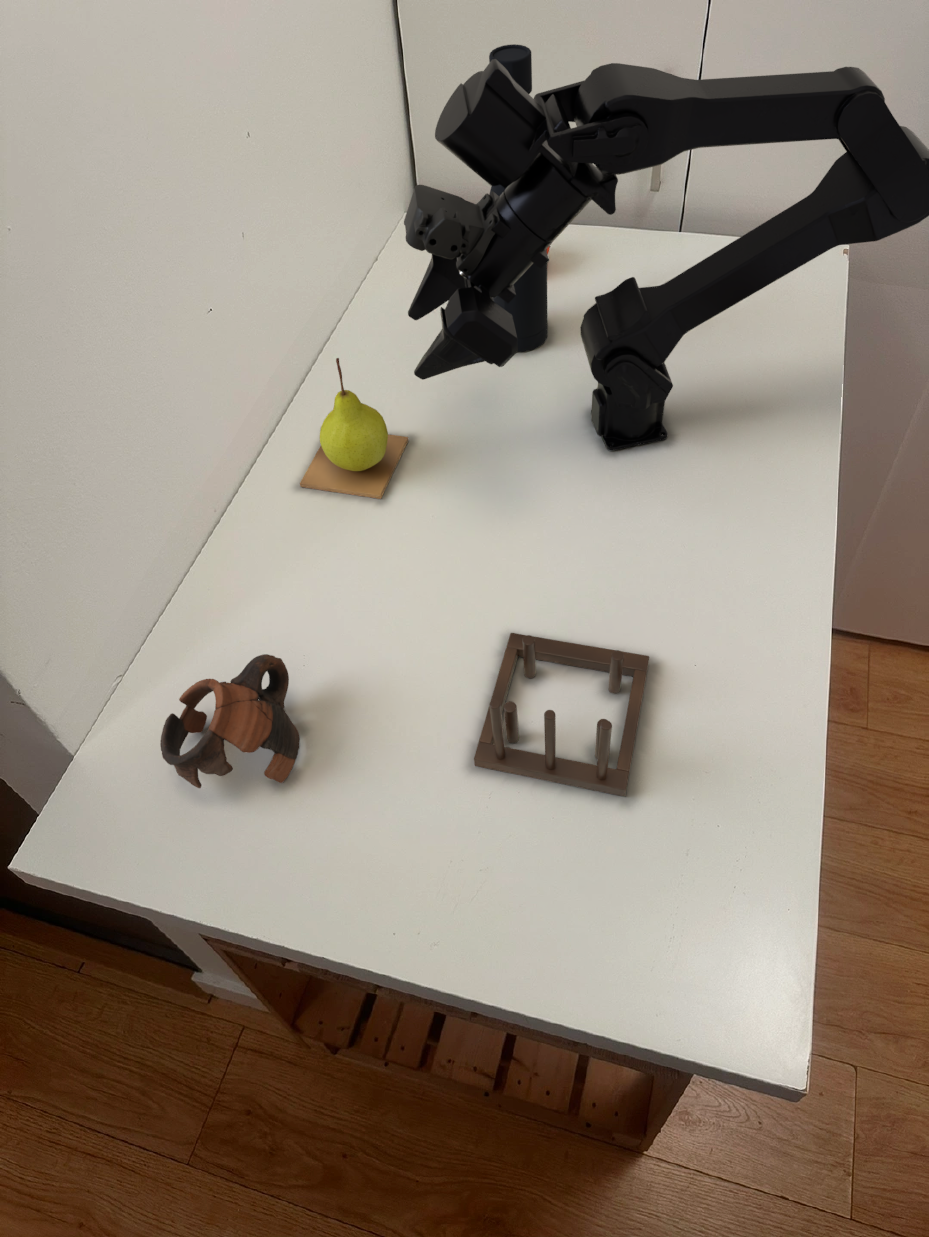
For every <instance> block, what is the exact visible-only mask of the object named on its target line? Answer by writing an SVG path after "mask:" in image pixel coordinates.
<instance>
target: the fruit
mask: <svg viewBox="0 0 929 1237" xmlns="http://www.w3.org/2000/svg"><path fill="white" fill-rule="evenodd" d="M335 362H336V367H337V371H338V376H339V382H340V390H339V392H337V393H336V394H335V397H334V401H333V409H332V410H331V411H330V412H329V413H328V414H327V416H326V417H325V418H324V419H323V422H322V424H321V426H320V431H319V443H320V446H322V449H323V451H324V453H325V455H326V456H327V457H328V458H329V460H330V461H331V462H332V463H334V464H335V465H337V466H338V467H340V468H343V469H345V470H350V471H363V470H366V469H368V468H370V467H372V466H374V465H375V464H377V463H378V462H379V461H381V460H382V458H383V457H384V454H385V451H386V446H387V440H388V434H389V432H388V427H387V424H386V422H385V419H384V416H383V415H382V414H381V413H380V412H379V411H378V410H377V409H376V408H374V407H371V406H370V405H368V404H366V403H363V402H361V400H360V399H359V397H358V395H357V394H356V393H355V392H353V391H352V390H349V389H345V388H344V382H343V372H342V368H341V365H340V358H339V357H336V359H335Z"/></svg>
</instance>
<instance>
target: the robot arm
mask: <svg viewBox="0 0 929 1237" xmlns="http://www.w3.org/2000/svg"><path fill="white" fill-rule="evenodd" d="M570 123H575V125H576V126H575V127H571V125H570ZM434 138H435V140H436V141H437V142H438V143H439V145H442V146H443V147H444V148H445V149H446V150H447V151H448V152H450V153H451V154H452V155H453V156H455V158H457V159H458V160H460V161H461V162H462V163H463V164H464V165H466V167H468V168H469V169H470V170H471V171H472V172H473V173H475V174H476V175H477V176H479V177H480V178H481V179H482V180H483V181H485V182H486V183H487V184H488V185H489V186H490V187H491V186H497V185H501V186H503V187H504V188H506V187H507V188H506V189H505V190H504V192H503V193H502V194H501V195H500V196H498V195H497V194H496V193H494V192H493V191H492V192H491V193H490V192H489V193H488V192H487V193H485V194H484V195H483V196H482V197H481V198H480V200H479V201H478V202H477V203H474V202H471V201H468V200H467V199H465V198H463V197H462V196H459V195H456V194H453V193H450V192H446V191H444V190H440V189H437V188H434V187H431V186H428V185H425V184H417V185H414V188H413V192H412V195H411V197H410V200H409V204H408V207H407V210H406V214H405V217H404V220H403V225H404V227H405V242H406V243H407V245H408V246H410V247H411V248H413V249H414V250H417V251H420V252H424V251H426V252H427V253H428V254H430V255H431V258H430V260H429V263H428V265H427V268H426V270H425V272H424V275H423V277H422V280H421V281H420V284H419V286H418V288H417V291H416V293H415V295H414V297H413V299H412V302H411V304H410V306H409V308H408V310H407V316H408V317H409V318H410V319H412V320H414V321H419V320H421V319H422V318H423V317H425V316H427V315H429V314H431V313H432V312H433V311H435V310H436V309H438V308H439V307H440V309H439V311H440V312H439V313H440V319H441V329H440V332H439V333H438V334H437V336H436V337H435V339H434V340H433V341H432V343H431V345H430V346H429V347H428V349H427V350H426V352H425V353H424V354H423V355H422V357H421V359H420V360H419V362H418V363H417V365H416V367H415V369H414V370H413V375H414V376H415V377H417V378H419V379H420V380H426V379H427V380H428V379H429V378H433V377H435V376H439V375H443V374H444V373H448V372H450V371H454V370H456V369H459V368H463V367H467V366H472V365H475V364H480V363H484V362H486V363H487V364H489V365H493V364H494V365H495V366H497V367H499V368H502V367H505V365H506V364H507V363H508V362H509V361H510V360H511V359H513V357H514V356H515V355H516V354H517V353H519V352H518V343H517V335H516V330H515V326H514V322H513V317H512V315H511V314H510V313H508V312H507V311H506V310H504V309H503V308H502V307H500V306H499V305H498V304H496V303H495V302H494V301H493V298H495V297H496V296H499V297H500V298H501V299H503V300H504V301H505V302H507V303H508V304H509V303H510V301H511V300H512V299H513V298H514V297H515V296H516V293H515V289H514V284H515V282H516V281H517V280H518V279H519V278H520V277H521V276H522V275H523V274H524V273H525V272H526V271H527V269H528V268H529V267H530V266H531V265H532V264H533V263H534V264H535V265H537V266H538V267H539V268H540V269H541V268H542V267H543V266H544V265H545V264H546V263H547V264H548V262H549V261H550V258H549V254H548V255H547V251H546V249H547V248H548V247H549V246H551V245H553V242H554V241H555V240H557V238H558V237H559V236H560V235H561V234H562V233H563V231H565V230H566V228H568V226H569V225H570V224H571V223H572V222H573V221H574V220H575V219H576V218H577V217H578V216H579V214H580V213H581V212H582V211H583V210H584V209H585V208H586V207H587V206H588V205H589V203H590V202H592V201H593V202H594V203H595V204H596V205H597V206H598V207H599V208H600V209H601V210H603V212H605V213H606V214H607V215H608V216H609V215H610V216H611V215H614V214H615V213H616V211H617V207H616V206H617V205H616V190H617V186H618V183H619V178H618V176H617V175H625V174H630V173H633V172H638V171H641V170H645V169H649V168H654V167H657V166H661V165H663V164H665V163H667V162H668V161H670V160H671V159H673V158H675V157H677V156H679V155H681V154H682V153H684V152H688V151H692V150H697V149H702V148H719V147H733V146H734V147H735V146H748V145H763V144H777V143H779V144H780V143H791V142H792V143H793V142H806V141H807V142H808V141H825V140H838V141H839V143H840V144H841V146H842V147H843V149H844V150H845V152H844V153H843V154H842V155H840V156H839V157H838V158H836V159H835V161H834V162H833V163H832V165H831V167H830V168H829V169H828V171H827V172H826V173H825V175H824V176H823V177H822V179H821V180H820V182H819V183H818V185H817V186H816V187H815V189H814V190H813V191H812V192H810V194H808V195H807V196H805V197H804V198H802V199H801V200H799V201H798V202H795V203H794V204H792V205H791V206H789V207H788V208H786V209H784V210H783V211H780V212H779V213H777V214H776V215H773V217H771V218H770V219H768V220H766V221H764V222H763V223H761V224H760V225H758V226H756V227H755V228H753V229H752V230H750V231H748V232H747V233H745V234H744V235H741V236H740V237H738V238H737V239H735V240H733V241H732V242H730V243H729V244H727V245H725V246H724V247H722V248H720V249H718V250H717V251H716V252H714V253H712V254H711V255H709V256H707V257H705V258H704V259H702V260H700V261H699V262H697V263H695V264H694V265H692V266H690V267H689V268H688V269H686V270H684V271H683V272H681V273H680V274H678V275H676V276H674V277H673V278H671V279H669V280H668V281H665V282H664V283H662V284H659V285H655V286H644V287H639V285H638V282H637V280H636V278H635V277H634V276H631V277H629V278H626V279H624V280H623V281H622V282H620V284H618V285H617V286H616V287H614V288H613V289H612V290H610V291H608V292H606V293H603V294H600V295H599V294H598V295H596V296H595V297H594V300H595V303H594V304H593V305H592V306H591V307H589V308H588V309H587V311H585V313H584V314H583V318H582V321H581V324H580V328H579V329H580V337H581V338H580V339H581V341H582V344H583V348H584V352H585V356H586V359H587V361H588V365H589V368H590V372H591V374H592V377H593V379H594V380H595V381H596V382H597V388H595V389H593V390H592V394H591V395H592V396H591V410H590V416H591V417H590V418H591V419H590V421H591V423H592V425H593V428H594V429H595V432H596V434H597V436H599V437H601V439H602V442H603V444H604V446H605V448H606V450H608V451H610V452H611V451H617V450H623V449H627V448H632V447H636V446H642V445H646V444H651V443H656V442H661V441H665V440H667V439H668V431H667V429H666V427H665V425H664V423H663V420H664V413H665V405H666V400H667V399H668V396H669V395H670V393H671V391H672V389H673V387H674V384H673V381H672V378H671V376H670V373H669V371H668V367H667V365H666V363H665V362H666V361H667V359H668V358H669V357H670V355H671V354H672V352H673V351H674V349H675V348H676V346H677V345H678V344H679V342H680V341H681V340H682V339H683V337H684V336H685V335H686V334H687V333H689V332H690V331H692V330H693V329H695V328H697V327H698V326H700V325H702V324H704V323H706V322H707V321H709V320H711V319H712V318H714V317H716V316H718V315H720V314H721V313H723V312H725V311H727V310H728V309H730V308H732V307H733V306H735V305H737V304H739V303H740V302H742V301H744V300H745V299H746V298H749V297H751V296H752V295H754V294H756V293H757V292H759V291H761V290H763V289H765V288H766V287H768V286H769V285H771V284H773V283H775V282H776V281H778V280H780V279H782V278H783V277H785V276H787V275H788V274H791V273H792V272H794V271H795V270H797V269H799V268H800V267H802V266H804V265H806V264H807V263H809V262H811V261H813V260H814V259H816V258H818V257H819V256H821V255H823V254H825V253H826V252H828V251H830V250H832V249H833V248H836V247H839V246H844V245H854V244H855V245H856V244H863V243H871V242H872V243H873V242H878V241H881V240H883V239H885V238H888V237H891V236H893V235H895V234H897V233H901V232H902V231H904V230H907V229H909V228H911V227H914V226H916V225H918V224H920V223H921V222H922V221H924V220H926V219H927V218H928V217H929V148H928V147H927V146H926V144H925V143H924V142H923V141H922V140H921V138H919V136H917V135H916V133H915V132H914V131H913V130H911V129H909V127H907V126H903V125H900V124H899V123H898V121H897V120H896V118H895V116H894V115H893V114H892V112H891V110H890V108H889V106H888V105H887V103H886V99H885V95H884V93H883V92H882V90H881V89H880V88H879V86H878V85H877V84H876V83H875V82H874V81H873V80H872V79H871V78H870V77H869V75H868V74H867V73H866V72H865V71H864V70H862V69H861V68H860V67H856V66H843V67H839V68H836V69H835V70H832V71H831V70H829V71H815V72H800V73H784V74H769V75H768V74H766V75H754V76H753V75H752V76H733V77H720V78H705V79H694V78H687V77H681V76H678V75H675V74H672V73H669V72H666V71H663V70H661V69H657V68H654V67H647V66H640V65H634V64H627V63H626V64H625V63H620V62H619V63H618V62H612V63H611V62H610V63H605V64H602V65H600V66H597V67H596V68H594V69H593V70H592V71H591V72H590V74H589V75H588V76H587V77H586V78H585V80H581V81H578V82H574V83H570V84H568V85H563V86H558V87H556V88H553V89H549V90H546V91H541V92H538V93H536V94H534V97H533V96H531V95H530V94H528V93H527V92H526V91H525V90H524V89H523V88H522V87H521V86H519V85H518V84H517V83H516V82H515V81H514V80H513V78H512V77H511V75H510V74H509V72H508V71H507V69H506V68H505V67H504V66H503V65H502V64H501V63H499V62H498V61H497V60H496V59H493V60H491V62H490V63H488V64H487V65H486V66H485V68H484V69H483V70H480V71H477V72H475V73H473V74H472V75H471V76H470V77H469V78H467V80H466V81H465V82H464V83H462V82H461V83H459V84H458V85H457V87H456V88H455V90H454V91H453V92H452V94H451V95H450V97H449V98H448V100H447V102H446V103H445V105H444V106H443V109H442V111H441V113H440V115H439V117H438V120H437V123H436V125H435V129H434ZM446 303H447V304H446ZM444 304H446V306H445V308H444V307H441V306H443V305H444Z"/></svg>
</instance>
